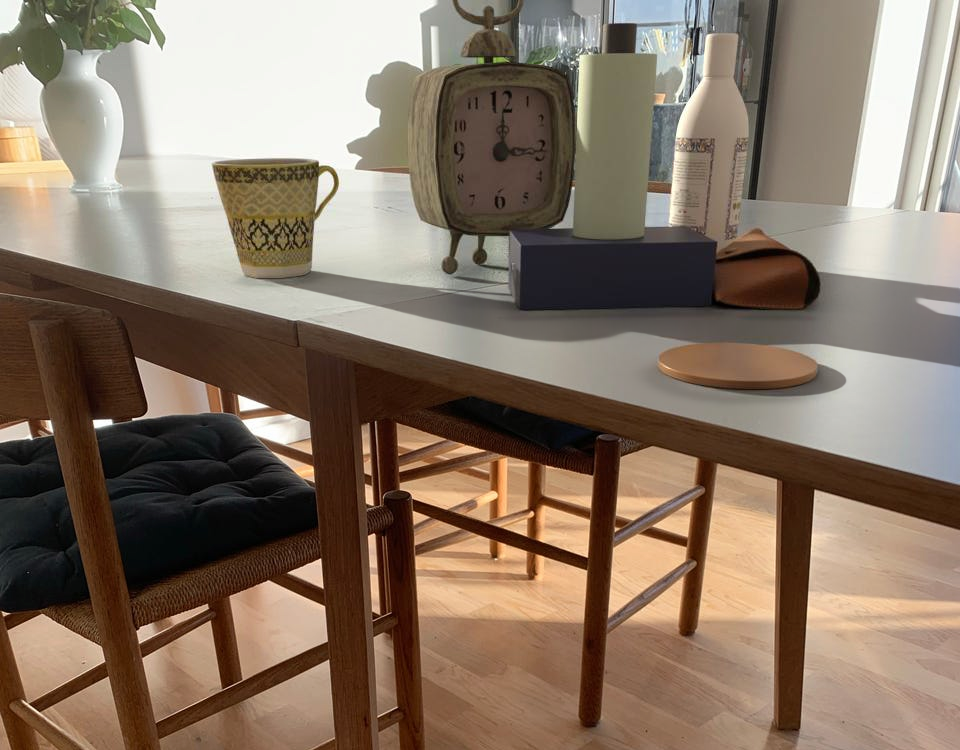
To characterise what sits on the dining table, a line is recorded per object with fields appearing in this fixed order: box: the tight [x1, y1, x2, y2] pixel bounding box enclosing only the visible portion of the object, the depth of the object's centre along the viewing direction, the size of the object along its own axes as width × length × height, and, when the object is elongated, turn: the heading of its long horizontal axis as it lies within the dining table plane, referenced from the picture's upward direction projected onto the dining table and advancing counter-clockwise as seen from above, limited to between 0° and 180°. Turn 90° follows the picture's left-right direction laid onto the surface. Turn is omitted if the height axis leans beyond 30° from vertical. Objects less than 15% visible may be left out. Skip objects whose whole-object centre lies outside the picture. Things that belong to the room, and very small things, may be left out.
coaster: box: [657, 342, 819, 390], centre depth 61 cm, size 10×10×1 cm
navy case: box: [507, 226, 718, 311], centre depth 81 cm, size 16×10×5 cm, turn 94°
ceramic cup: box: [211, 157, 340, 279], centre depth 93 cm, size 13×10×10 cm
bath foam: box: [667, 32, 750, 252], centre depth 93 cm, size 7×7×20 cm
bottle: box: [572, 22, 658, 240], centre depth 76 cm, size 6×6×15 cm
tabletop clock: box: [406, 0, 576, 275], centre depth 90 cm, size 14×9×25 cm, turn 114°
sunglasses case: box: [712, 228, 822, 310], centre depth 84 cm, size 18×7×7 cm
